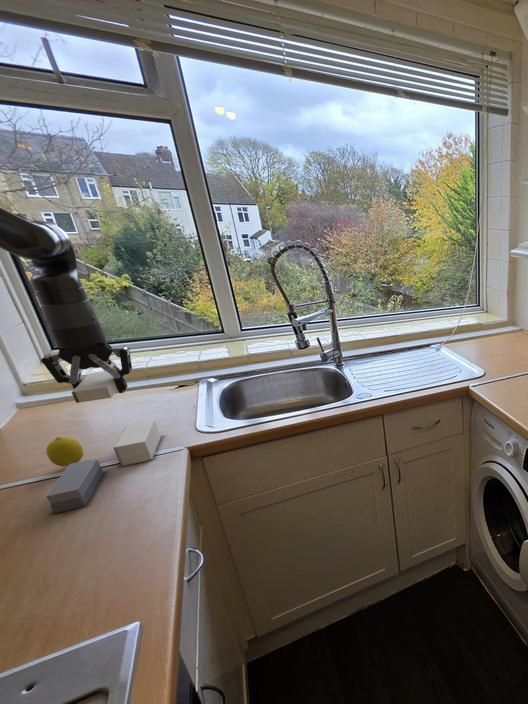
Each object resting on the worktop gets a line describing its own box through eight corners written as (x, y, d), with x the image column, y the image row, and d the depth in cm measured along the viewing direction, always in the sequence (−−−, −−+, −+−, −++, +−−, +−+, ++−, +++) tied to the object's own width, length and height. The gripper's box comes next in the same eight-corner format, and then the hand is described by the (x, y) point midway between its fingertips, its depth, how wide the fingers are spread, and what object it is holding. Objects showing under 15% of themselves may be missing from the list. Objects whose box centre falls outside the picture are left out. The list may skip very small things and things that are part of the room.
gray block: (54, 513, 81) (45, 497, 80) (76, 478, 92) (69, 463, 90) (85, 506, 84) (77, 490, 82) (103, 472, 94) (96, 458, 92)
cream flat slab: (76, 403, 86) (71, 392, 85) (94, 383, 95) (89, 372, 94) (111, 397, 88) (106, 387, 87) (125, 378, 98) (121, 368, 97)
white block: (121, 466, 96) (113, 447, 94) (133, 442, 106) (126, 425, 104) (151, 459, 99) (144, 441, 97) (160, 437, 108) (154, 420, 106)
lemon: (82, 457, 99) (68, 429, 96) (93, 463, 97) (79, 434, 94) (51, 469, 95) (35, 439, 91) (61, 476, 92) (46, 446, 89)
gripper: (123, 315, 92) (148, 383, 99) (33, 322, 85) (67, 394, 92) (113, 322, 86) (141, 394, 93) (16, 331, 79) (54, 407, 86)
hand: (104, 394), depth 92 cm, fingers closed on cream flat slab, 5 cm apart
